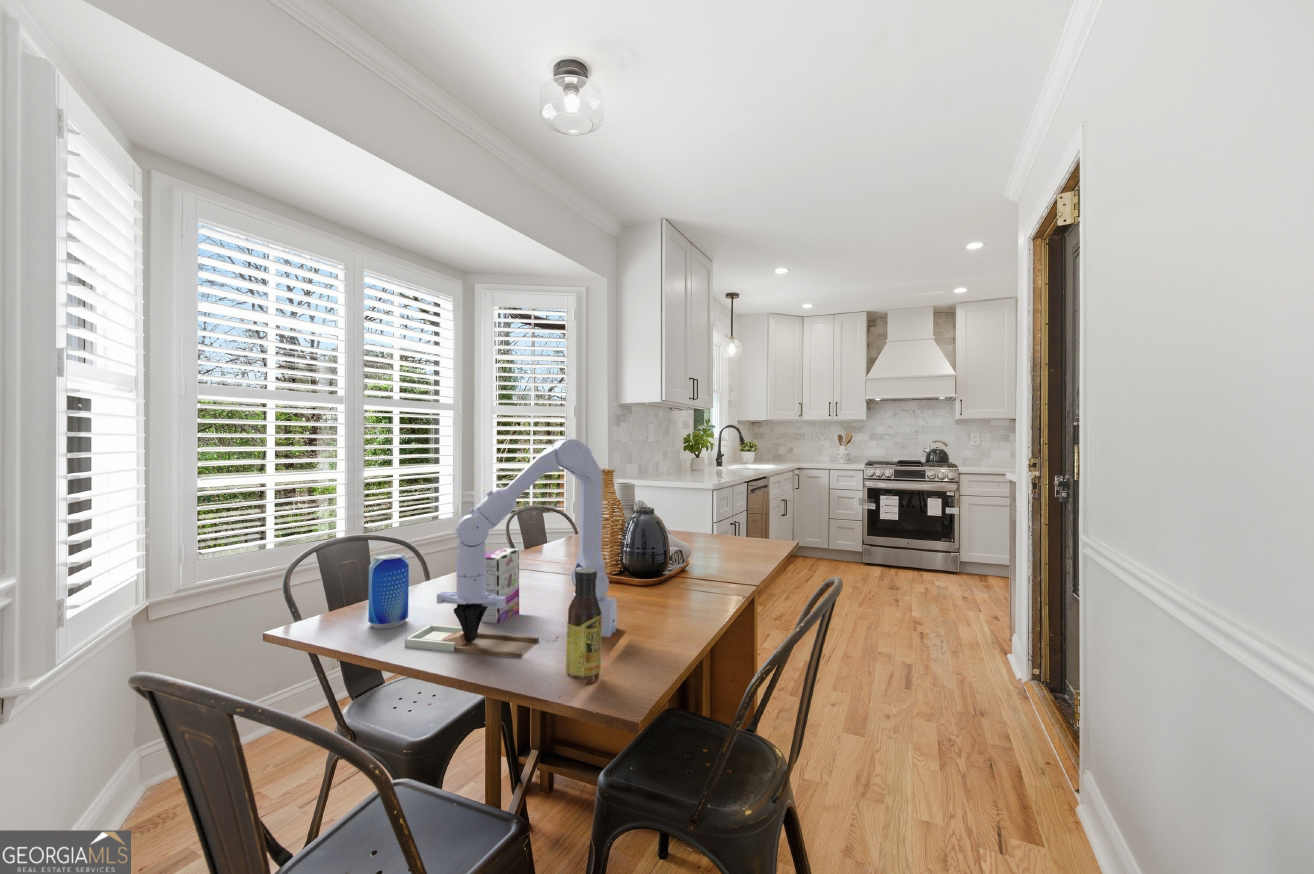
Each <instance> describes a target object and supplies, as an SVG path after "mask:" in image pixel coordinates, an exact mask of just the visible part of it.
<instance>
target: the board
mask: <svg viewBox="0 0 1314 874" xmlns="http://www.w3.org/2000/svg"><path fill="white" fill-rule="evenodd" d="M539 642H540V638H539V637H537V636H536V637H535V636H526V635H517V634H516V635H515V634H504V633H492V632H483V631H481V632H480V631H478V632H477V636H476V639H475V640H474V641H472V642H467V643H466V644H464V645H463V646H455V647H454V651H453V652H455V653H456V652H457V653H466V654H473V655H474V654H476V655H486V656H495V657H503V658H504V657H505V658H514V659H515V658H516V659H520V658H522V657H523V656H524V655H526V653H528V652H529V651H530V650H531V649H532V648H533V647H535V646H536V645H537V644H538V643H539Z"/></svg>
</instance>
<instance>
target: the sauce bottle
mask: <svg viewBox="0 0 1314 874" xmlns="http://www.w3.org/2000/svg"><path fill="white" fill-rule="evenodd" d="M596 578H597V571H596V570H595V569H590V568H584V569H577V570H575V579H576V586H575V585H574V587H575V590H574V592H575V597H574V598H573V597H572V600H571V602H570V604H569V606H568V612H567V613H568V614H567V617H568V618H567V624H566V625H567V629H566V630H567V631H566V657H565V658H566V659H565V660H566V661H565V671H566V673H567V676H568V677H571V678H574V679H578V680H580V679H585V680H586V679H588V680H587V681H586V683H584V685H585V686H587V685H592V684H594V683H597V681H598V680H599V678H600V672H601V669H602V668H601V667H602V665H601V664H602V661H601V660H602V659H601V658H602V636H601V628H602V613H601V609H600V606H599V603H598V600H597V597H596Z"/></svg>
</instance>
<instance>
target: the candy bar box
mask: <svg viewBox="0 0 1314 874" xmlns="http://www.w3.org/2000/svg"><path fill="white" fill-rule="evenodd" d="M486 593H489V594H494V595H498V596H505V597H506V606H505V607H503V608H502V609H500V608H497V607H489V606H488V608H487V609H486V611H485V613H484V615H483V617H482V620H481V622H483V623H489V624H490V623H491V624H492V623H493V624H500V623H501V622H502V621H504V620H506V619H507V618H509V617H510V616H512V615H520V549H519V548H510V547H503V548H499V549H497V550H495V551H493V552H491V553H490V552H489V553H488V554H486ZM481 622H480V623H481Z"/></svg>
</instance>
